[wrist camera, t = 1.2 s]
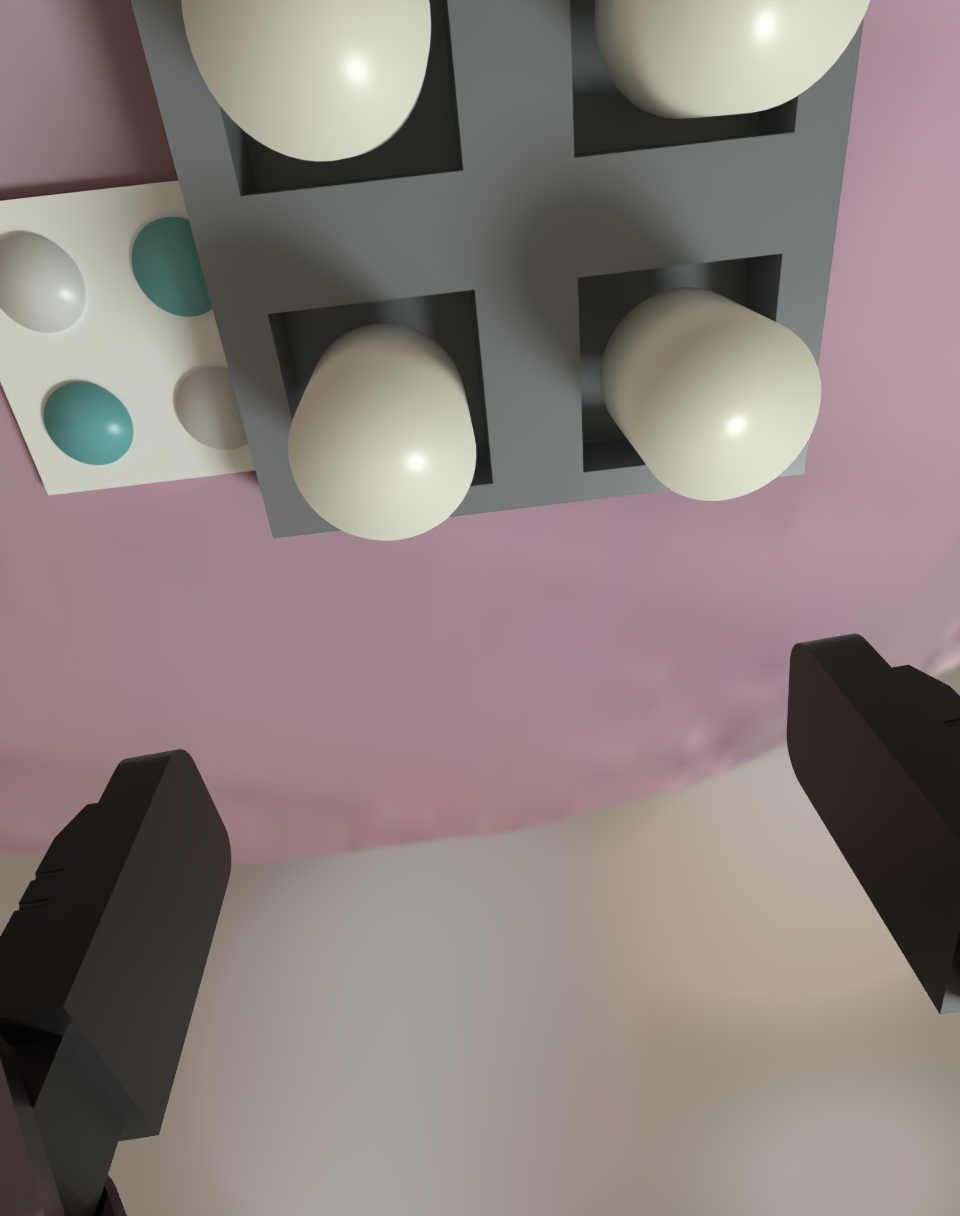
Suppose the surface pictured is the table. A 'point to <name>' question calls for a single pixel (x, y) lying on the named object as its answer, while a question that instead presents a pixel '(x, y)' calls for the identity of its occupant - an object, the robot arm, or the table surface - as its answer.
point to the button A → (313, 69)
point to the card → (113, 341)
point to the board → (500, 237)
